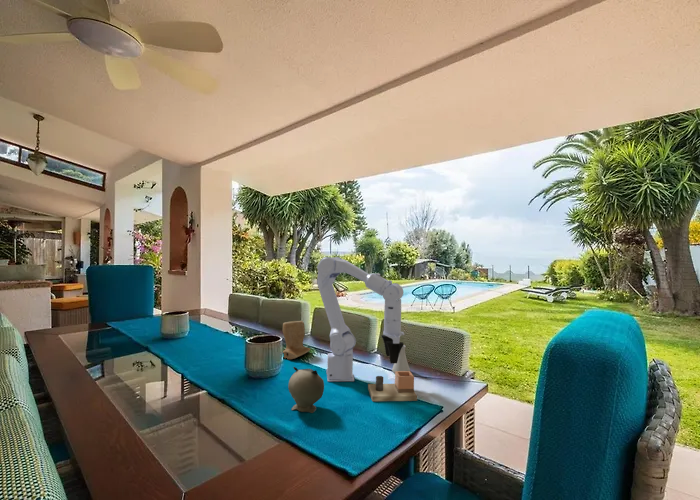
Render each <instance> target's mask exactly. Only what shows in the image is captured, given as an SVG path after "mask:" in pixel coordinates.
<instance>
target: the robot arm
mask: <svg viewBox="0 0 700 500" xmlns="http://www.w3.org/2000/svg"><path fill="white" fill-rule="evenodd" d="M316 268H317V278H316V284H317V287H318V291H319V294H320V297H321V299H322V304H323V307H324V310H325V313H326V316H327V319H328V323H329V327H330V333H329V340H330V343H329V347H330V348H329V349H330V350H331V352H329V353H328V352H327V364H326V365H327V366H326V371H325V372H326V373H325V374H326V378H327V382H355V376H354V373H353V370H354V368H353V365H354V363H353V361H354V360H353V359H354V352H353V351H354V350H353V349H354V348H355V346H356V343H357V339H356V337H355V335H354V334H353V333H352V331H351V329H350V327H349V326H348V325H347V324H346V322H345V320H344V316H343V313H342V310H341V307H340V304H339V300H338V297H337V294H336V291H335V287H334V283H335V280H336V279H337V277H338V276H339V275H340V274H341V273H342V274H343V273H345V274H348V275H350V276H351V277H354V278H356V279H358V280H359V281H362V282H363V283H364V284H365V285H364V286H365V288H366V289H369V290H370V291H372V292H375V293H376V294H378V295H379V296H382V297H383V299H384V316H383V324H384V325H383V331H382V332H383V333H382V334H381V338H382V340H383V344H384V349H385V355H386V357H389V361H390V364H394V363H397V361H398V357H399V353H400V351H401V348H402V347H403V345H404V341H403V342H401V341H400V339H401V336H404V335H405V332H404V331H402V327H401V326H402V298H403V297H404V288H403V287H402V286H401V285H400V284H399V283H397V282H394V283H393V281H392V280H391V279H389V280H388V279H386V278H385V277H382V276H381V273H379V272H377V273H375V272H373V273H368V272H367V271H365V270H363V269H362V268H360V267H358V266H357V265H355V264H353V263H352V262H350V261H348V260H347V259H343V258H342V257H339V256H335V257H329V256H325V257H322V258H321V259H320V260H319V263H318V264H317V266H316Z"/></svg>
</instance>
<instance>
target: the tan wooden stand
mask: <svg viewBox="0 0 700 500" xmlns="http://www.w3.org/2000/svg"><path fill="white" fill-rule="evenodd" d="M305 327H306V326H305V321H303V320H293V321H285V322H283V323H282V334H283V338H284V341H285V345H286V346H285V349H284V350H283V353H284V357H283V358H284V359H286V358H287V360H293V359H294V360H295V359H296V358H298V357H301V356H303V355H305V354H306V353H307V354H308V353H309V352H310V351H311V348H309V347H306V346H304V339H305V333H306V329H305Z"/></svg>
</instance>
